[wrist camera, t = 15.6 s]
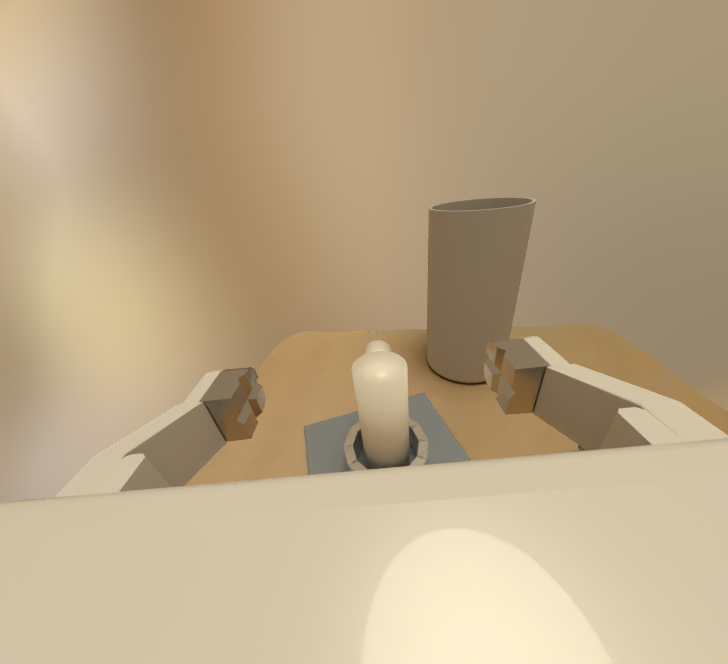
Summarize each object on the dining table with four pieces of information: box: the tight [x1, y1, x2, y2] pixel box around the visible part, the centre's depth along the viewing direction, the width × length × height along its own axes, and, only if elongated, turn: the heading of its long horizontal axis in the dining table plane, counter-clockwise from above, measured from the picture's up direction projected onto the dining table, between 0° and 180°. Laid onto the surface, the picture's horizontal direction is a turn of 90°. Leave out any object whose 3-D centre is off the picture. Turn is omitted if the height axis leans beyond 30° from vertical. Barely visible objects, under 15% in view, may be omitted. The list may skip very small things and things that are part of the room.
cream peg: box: [352, 340, 410, 470], centre depth 29 cm, size 8×5×14 cm, turn 0°
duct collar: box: [344, 418, 428, 471], centre depth 30 cm, size 9×9×4 cm
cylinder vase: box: [427, 198, 536, 383], centre depth 40 cm, size 12×12×25 cm
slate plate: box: [304, 393, 471, 475], centre depth 31 cm, size 18×18×1 cm
